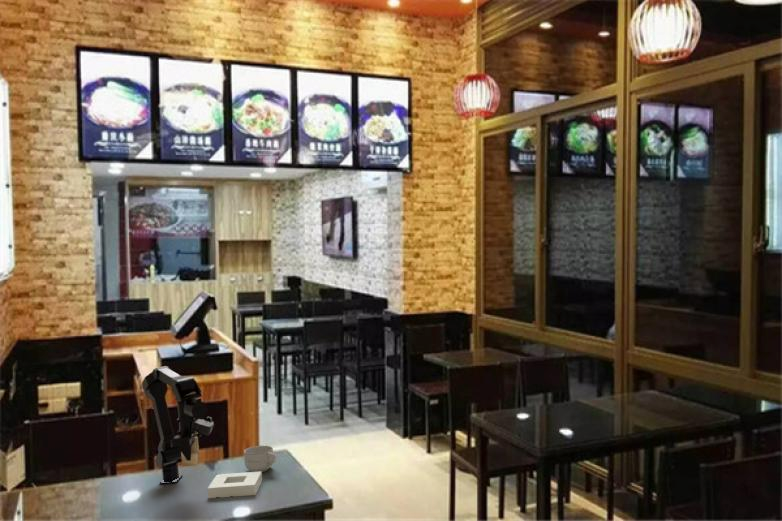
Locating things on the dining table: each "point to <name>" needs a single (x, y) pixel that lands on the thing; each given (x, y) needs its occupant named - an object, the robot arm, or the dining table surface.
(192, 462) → the wooden bar
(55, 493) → the dining table surface
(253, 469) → the teacup
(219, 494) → the well block
